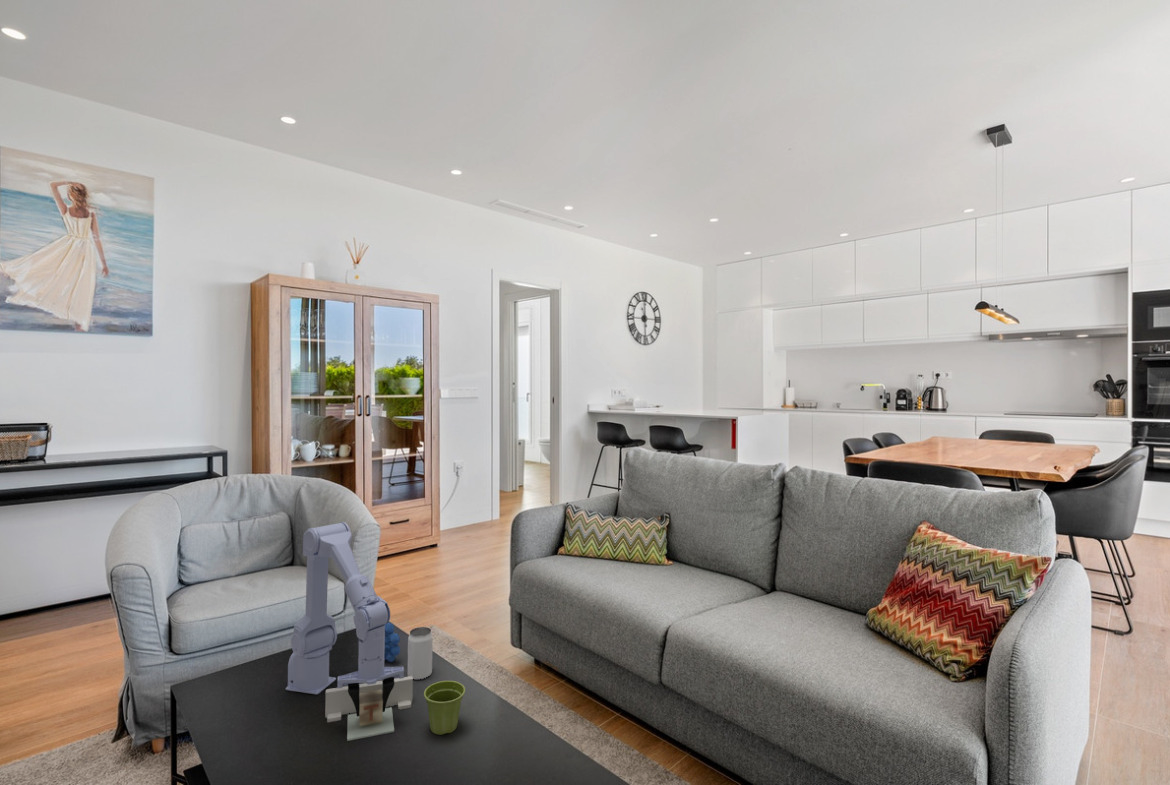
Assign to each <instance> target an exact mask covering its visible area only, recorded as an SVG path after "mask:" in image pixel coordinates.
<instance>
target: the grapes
mask: <svg viewBox="0 0 1170 785" xmlns="http://www.w3.org/2000/svg"><path fill="white" fill-rule="evenodd" d="M384 626H385V649H384V661H386V660H387V661H388V662H390V663H393V662H394V661H395V660H396V656H399V655H400V653H401V647H400V646H399V643H400V640H401V638H400V637H401V636H400V635H399V634H398V633H396V632H395V625H394V624H393V623H391V622H388V623H387V624H385V625H384Z"/></svg>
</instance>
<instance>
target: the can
mask: <svg viewBox="0 0 1170 785" xmlns="http://www.w3.org/2000/svg"><path fill="white" fill-rule="evenodd" d="M433 640H434V639H433V633H432V628H430V627H426V626H421V627H420V626H419V627H414V628H412V629H411V630H410V631H409V635H408V637H407V677H408V676H412V677H413V679H414V680H416V681H421V680H424V678H425V679H427V678H428V676H429V677H431V675H432V674H433V673H432V672H433ZM426 677H427V678H426ZM420 679H421V680H420ZM414 680H413V681H414Z"/></svg>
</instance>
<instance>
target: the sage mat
mask: <svg viewBox="0 0 1170 785" xmlns="http://www.w3.org/2000/svg"><path fill="white" fill-rule="evenodd" d="M392 707H393V706H390V707H385V712H383V713H382V722H379V723H374V724H368V725H363V726H359V716H358V717H357V714H356V713H350V714H347V729H346V730H347V735H346V739H347V740H346V741H347V742H348V741H354V740H358V739H364V738H365V739H366V738H370V737H374V736H379V735H384V734H385V735H387V734H391V733H394V732H395V726H394V717H393V708H392Z"/></svg>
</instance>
